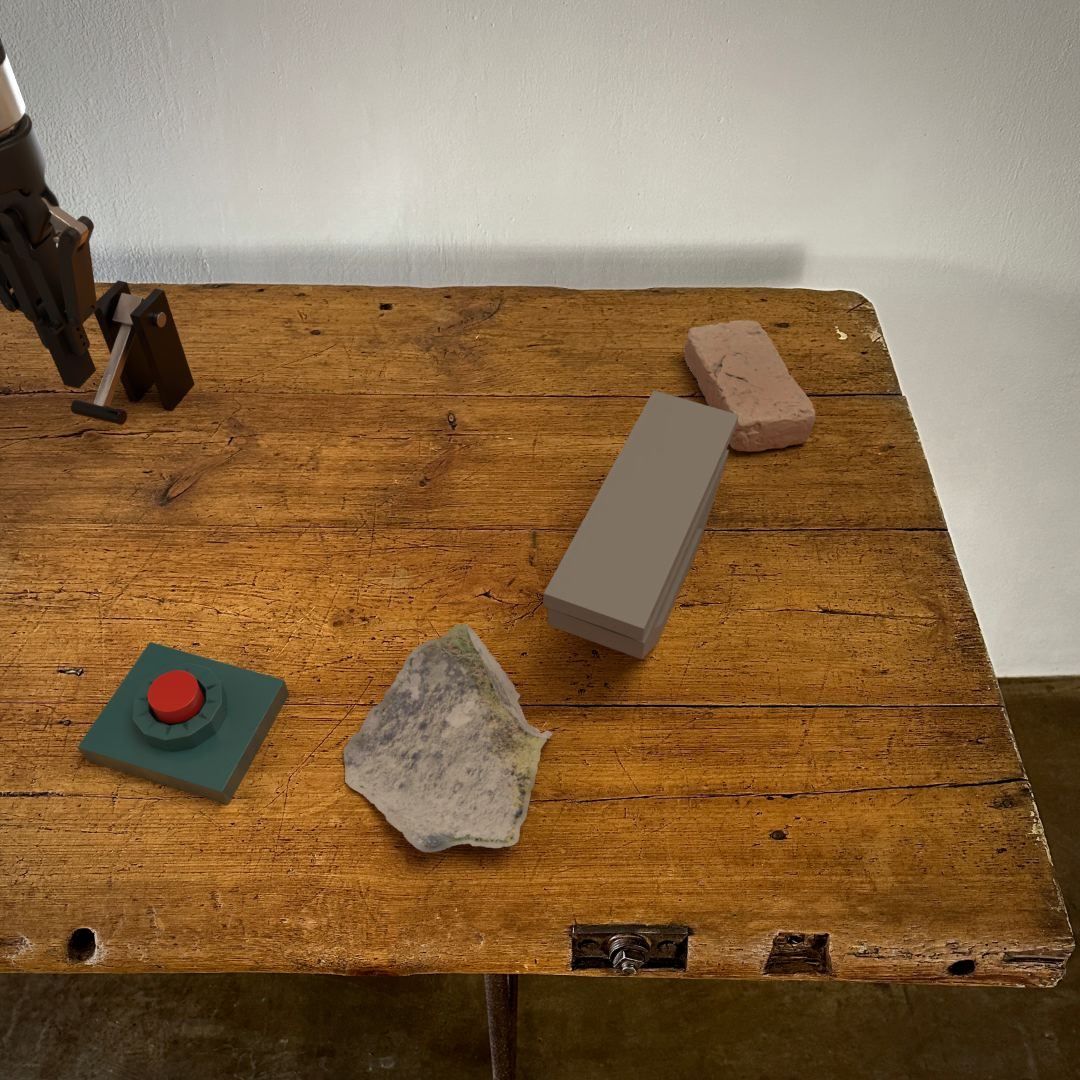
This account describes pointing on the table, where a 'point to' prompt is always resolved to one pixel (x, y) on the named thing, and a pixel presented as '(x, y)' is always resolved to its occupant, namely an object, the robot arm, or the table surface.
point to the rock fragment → (448, 748)
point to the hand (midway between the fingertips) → (80, 377)
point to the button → (175, 697)
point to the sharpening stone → (643, 527)
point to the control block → (187, 725)
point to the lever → (112, 367)
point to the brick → (749, 385)
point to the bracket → (148, 347)
